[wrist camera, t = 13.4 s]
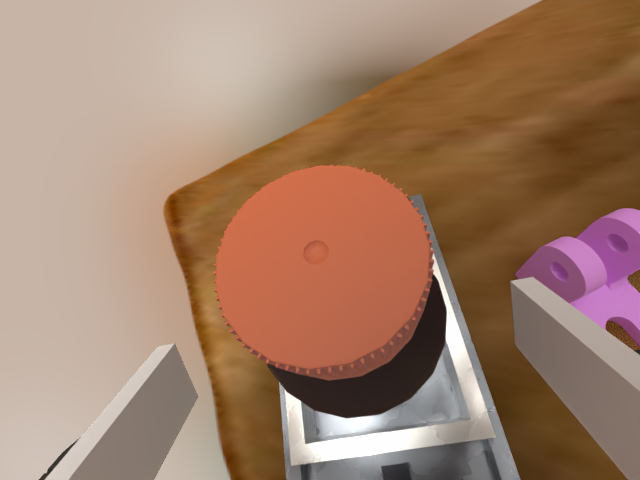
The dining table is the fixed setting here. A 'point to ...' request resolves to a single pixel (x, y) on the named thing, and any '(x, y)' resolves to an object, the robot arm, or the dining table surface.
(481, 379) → the grey base plate
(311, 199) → the vinegar
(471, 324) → the dining table surface
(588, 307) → the bracket
